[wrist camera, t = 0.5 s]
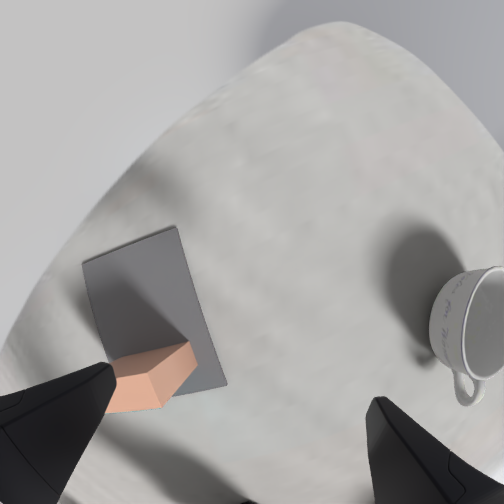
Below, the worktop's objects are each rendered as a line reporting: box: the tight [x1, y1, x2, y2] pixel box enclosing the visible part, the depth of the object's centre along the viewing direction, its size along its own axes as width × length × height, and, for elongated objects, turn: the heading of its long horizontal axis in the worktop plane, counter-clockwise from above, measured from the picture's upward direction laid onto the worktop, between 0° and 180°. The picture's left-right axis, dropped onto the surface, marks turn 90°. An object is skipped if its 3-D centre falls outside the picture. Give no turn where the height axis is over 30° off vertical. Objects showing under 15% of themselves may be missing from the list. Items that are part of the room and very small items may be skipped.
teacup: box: [429, 266, 504, 407], centre depth 20 cm, size 14×11×8 cm
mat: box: [82, 228, 227, 397], centre depth 25 cm, size 16×12×1 cm
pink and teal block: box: [105, 341, 198, 414], centre depth 20 cm, size 3×8×10 cm, turn 108°
